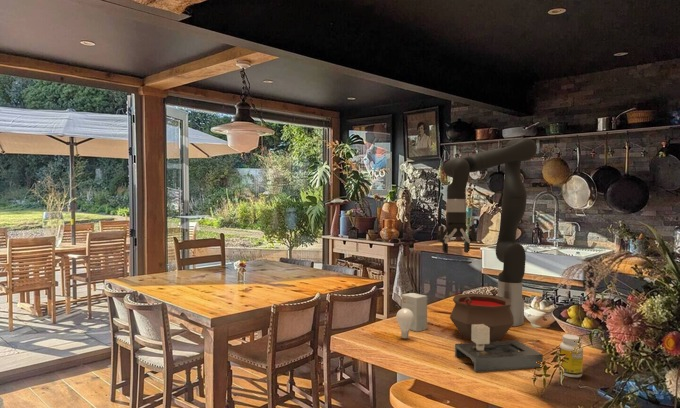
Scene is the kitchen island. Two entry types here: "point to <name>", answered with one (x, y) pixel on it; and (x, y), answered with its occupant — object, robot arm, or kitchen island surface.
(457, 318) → the brown cooking pot
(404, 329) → the lightbulb
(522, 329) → the kitchen island surface
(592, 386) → the kitchen island surface
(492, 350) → the keyhole plate
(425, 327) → the small box
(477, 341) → the keyhole peg
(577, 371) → the pill bottle
